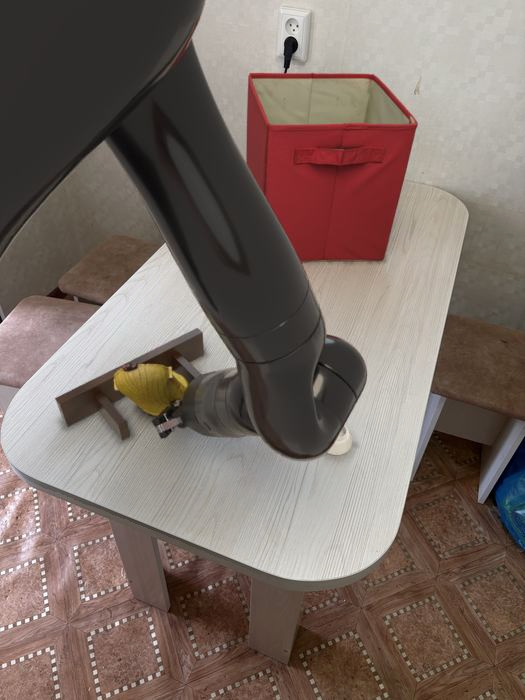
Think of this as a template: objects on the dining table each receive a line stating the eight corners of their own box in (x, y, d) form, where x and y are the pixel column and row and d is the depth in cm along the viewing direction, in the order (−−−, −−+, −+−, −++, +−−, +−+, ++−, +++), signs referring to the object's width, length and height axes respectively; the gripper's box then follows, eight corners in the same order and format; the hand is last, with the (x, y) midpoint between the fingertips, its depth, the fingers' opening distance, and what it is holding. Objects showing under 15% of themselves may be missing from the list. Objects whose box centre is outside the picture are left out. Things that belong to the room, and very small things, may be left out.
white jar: (321, 424, 75) (312, 450, 71) (323, 411, 73) (315, 437, 69) (354, 433, 74) (347, 461, 70) (358, 421, 72) (350, 448, 68)
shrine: (172, 448, 70) (159, 375, 60) (117, 437, 71) (96, 363, 61) (197, 388, 78) (190, 314, 68) (148, 379, 79) (134, 305, 69)
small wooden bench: (90, 459, 69) (83, 437, 65) (63, 420, 73) (54, 398, 70) (230, 378, 80) (230, 356, 77) (198, 349, 85) (197, 327, 81)
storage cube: (391, 267, 105) (428, 124, 85) (260, 273, 102) (267, 126, 82) (350, 195, 128) (372, 69, 108) (243, 198, 125) (245, 68, 105)
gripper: (258, 347, 58) (202, 363, 74) (160, 401, 52) (121, 406, 67) (286, 404, 59) (225, 408, 74) (192, 464, 53) (147, 455, 68)
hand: (176, 407), depth 71 cm, fingers closed
